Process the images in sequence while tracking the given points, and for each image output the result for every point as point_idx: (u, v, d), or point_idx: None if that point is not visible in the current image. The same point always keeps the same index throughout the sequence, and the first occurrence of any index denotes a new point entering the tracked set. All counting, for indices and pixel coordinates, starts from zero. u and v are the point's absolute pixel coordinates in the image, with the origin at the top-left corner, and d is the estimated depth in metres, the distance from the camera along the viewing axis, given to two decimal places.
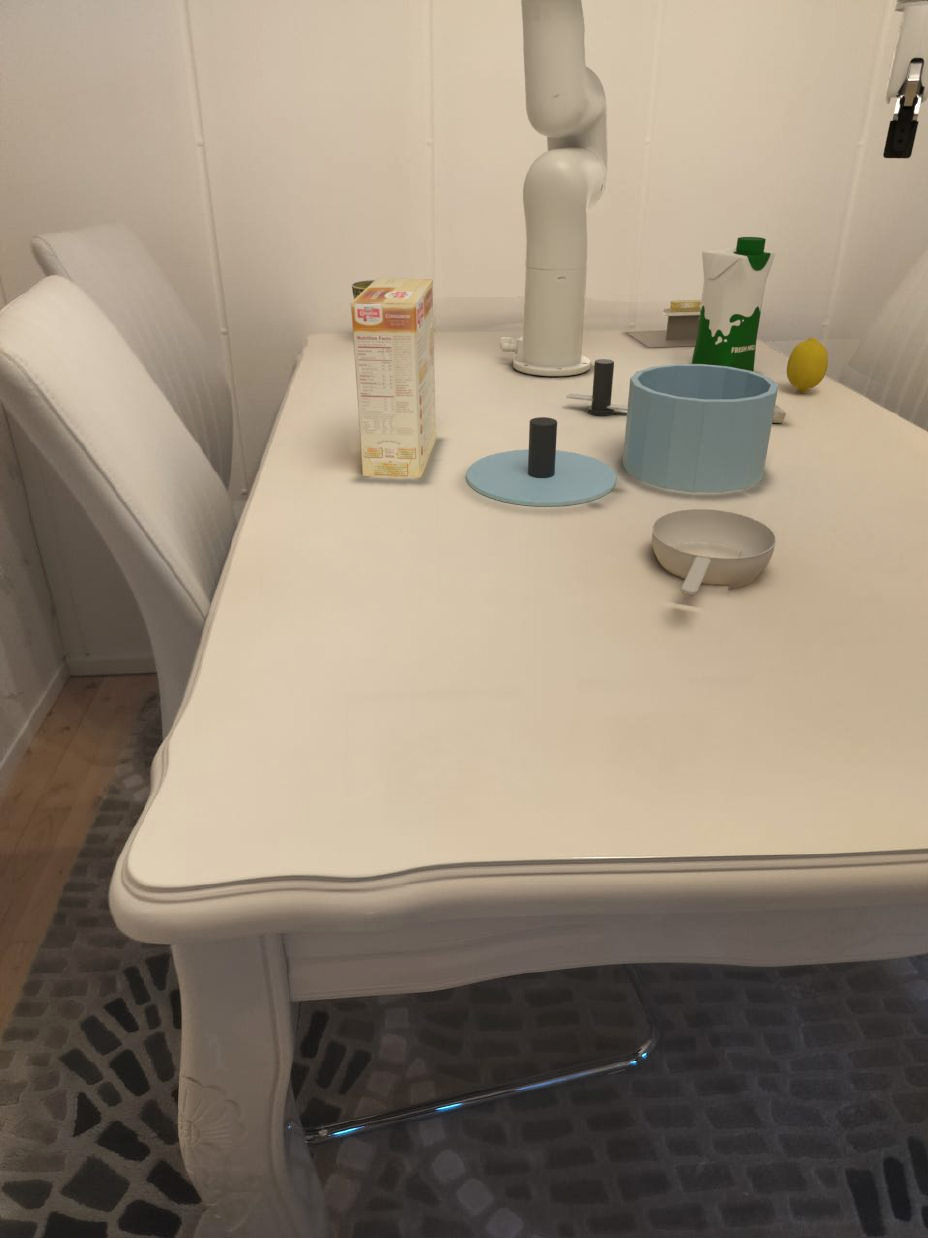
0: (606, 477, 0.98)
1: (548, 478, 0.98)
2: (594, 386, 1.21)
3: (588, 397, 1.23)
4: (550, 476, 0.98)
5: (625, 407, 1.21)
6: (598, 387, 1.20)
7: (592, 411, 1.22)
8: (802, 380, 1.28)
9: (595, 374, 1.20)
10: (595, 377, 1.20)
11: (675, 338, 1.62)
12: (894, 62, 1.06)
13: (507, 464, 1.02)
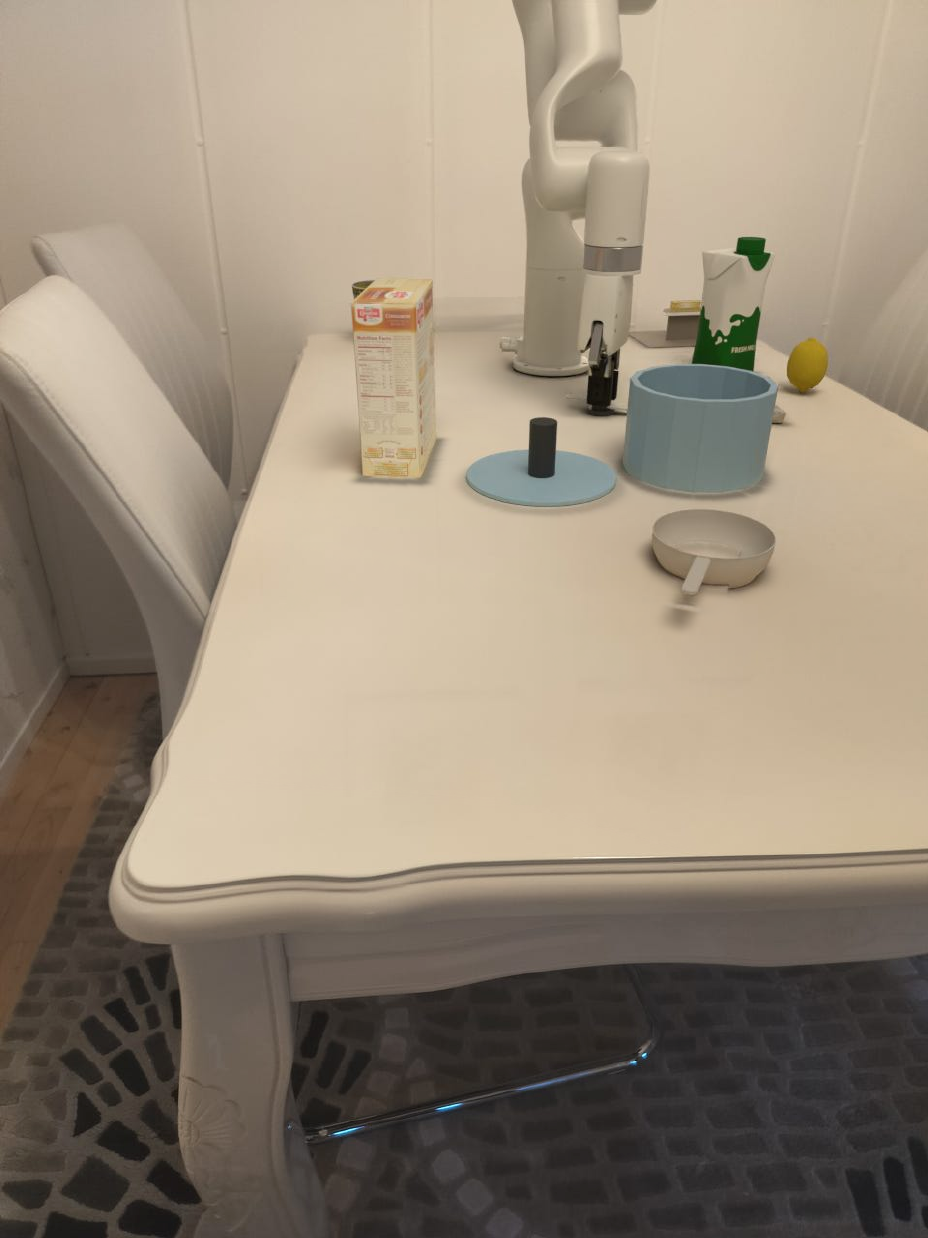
0: (606, 477, 0.98)
1: (548, 478, 0.98)
2: None
3: None
4: (550, 476, 0.98)
5: (625, 407, 1.21)
6: None
7: (592, 411, 1.22)
8: (802, 380, 1.28)
9: None
10: None
11: (675, 338, 1.62)
12: (579, 321, 1.14)
13: (507, 464, 1.02)
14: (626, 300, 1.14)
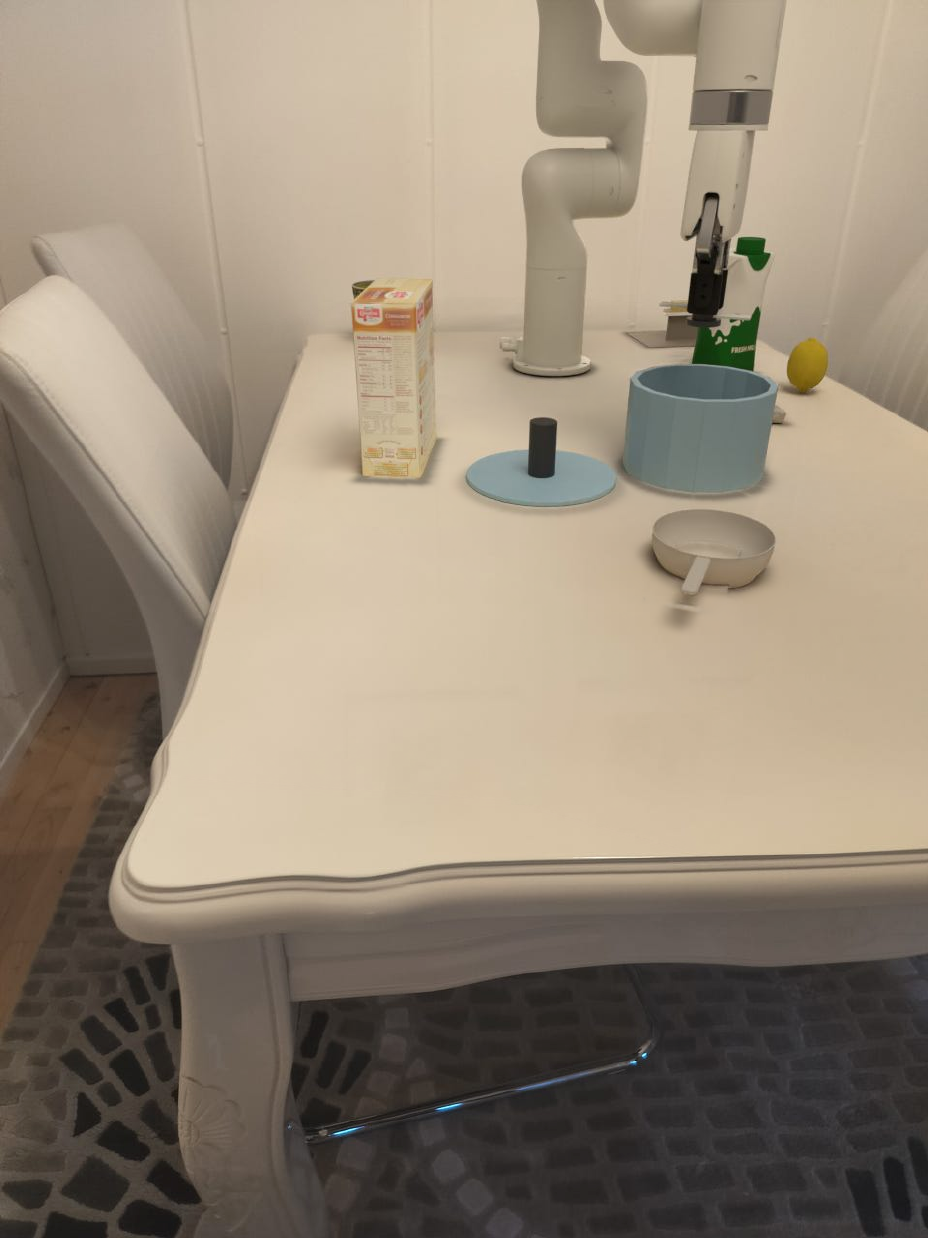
0: (606, 477, 0.98)
1: (548, 478, 0.98)
2: None
3: None
4: (550, 476, 0.98)
5: (737, 316, 0.94)
6: None
7: (694, 322, 0.94)
8: (802, 380, 1.28)
9: None
10: None
11: (675, 338, 1.62)
12: (686, 196, 0.87)
13: (507, 464, 1.02)
14: (747, 168, 0.87)
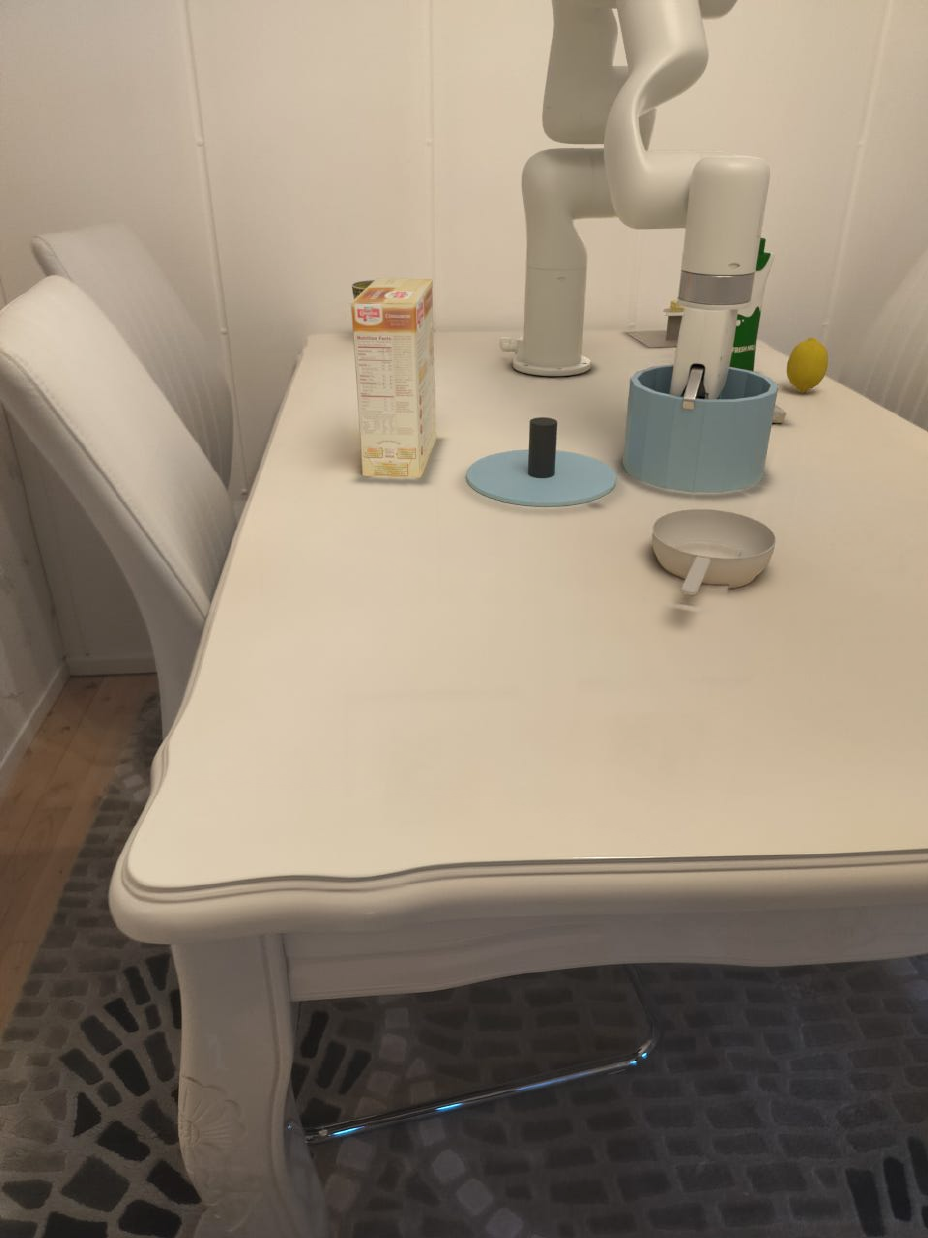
0: (606, 477, 0.98)
1: (548, 478, 0.98)
2: None
3: None
4: (550, 476, 0.98)
5: None
6: None
7: None
8: (802, 380, 1.28)
9: None
10: None
11: (675, 338, 1.62)
12: (674, 364, 0.93)
13: (507, 464, 1.02)
14: (731, 338, 0.93)
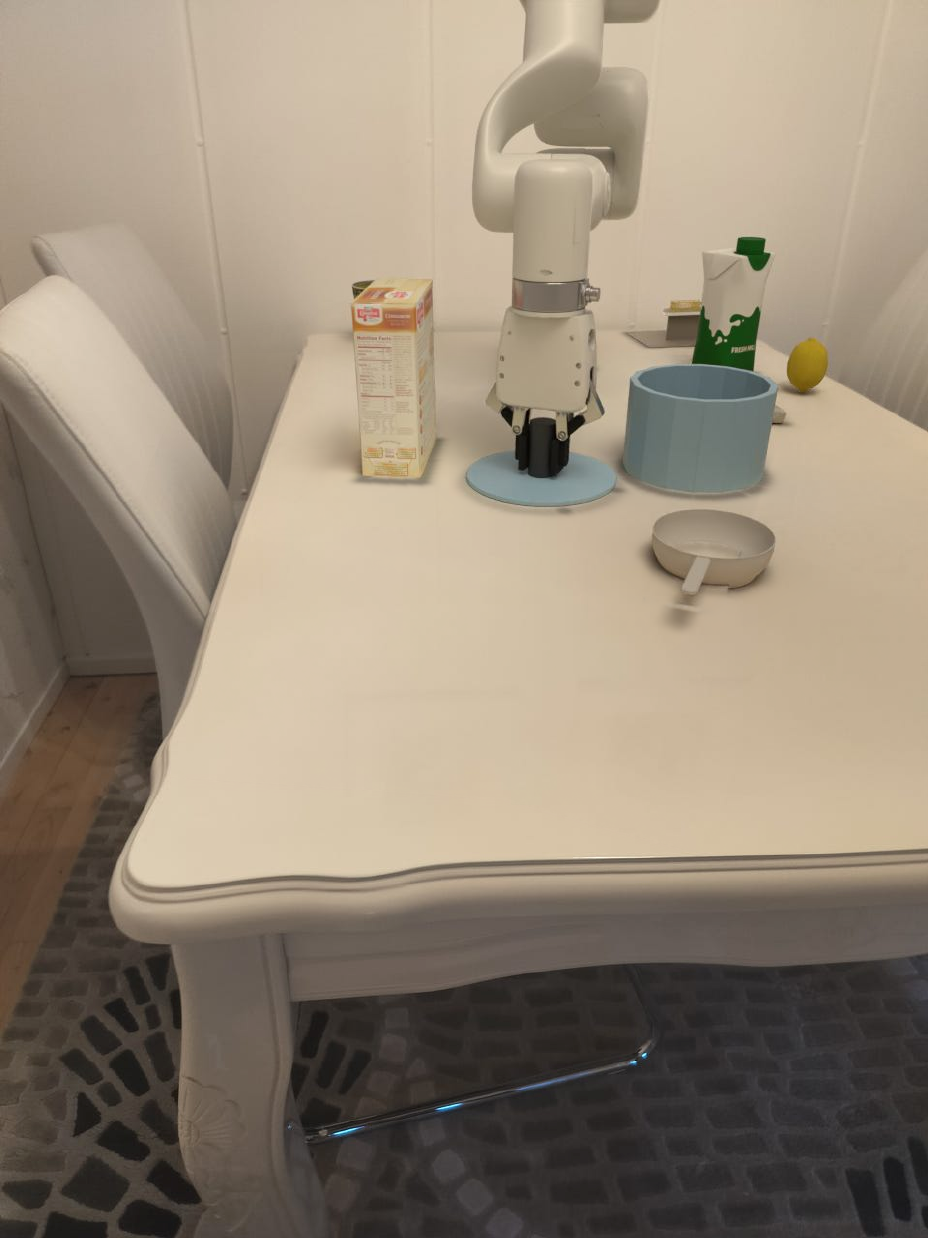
0: (606, 477, 0.98)
1: (548, 478, 0.98)
2: None
3: None
4: (550, 476, 0.98)
5: None
6: None
7: None
8: (802, 380, 1.28)
9: None
10: None
11: (675, 338, 1.62)
12: None
13: (507, 464, 1.02)
14: (531, 348, 0.90)
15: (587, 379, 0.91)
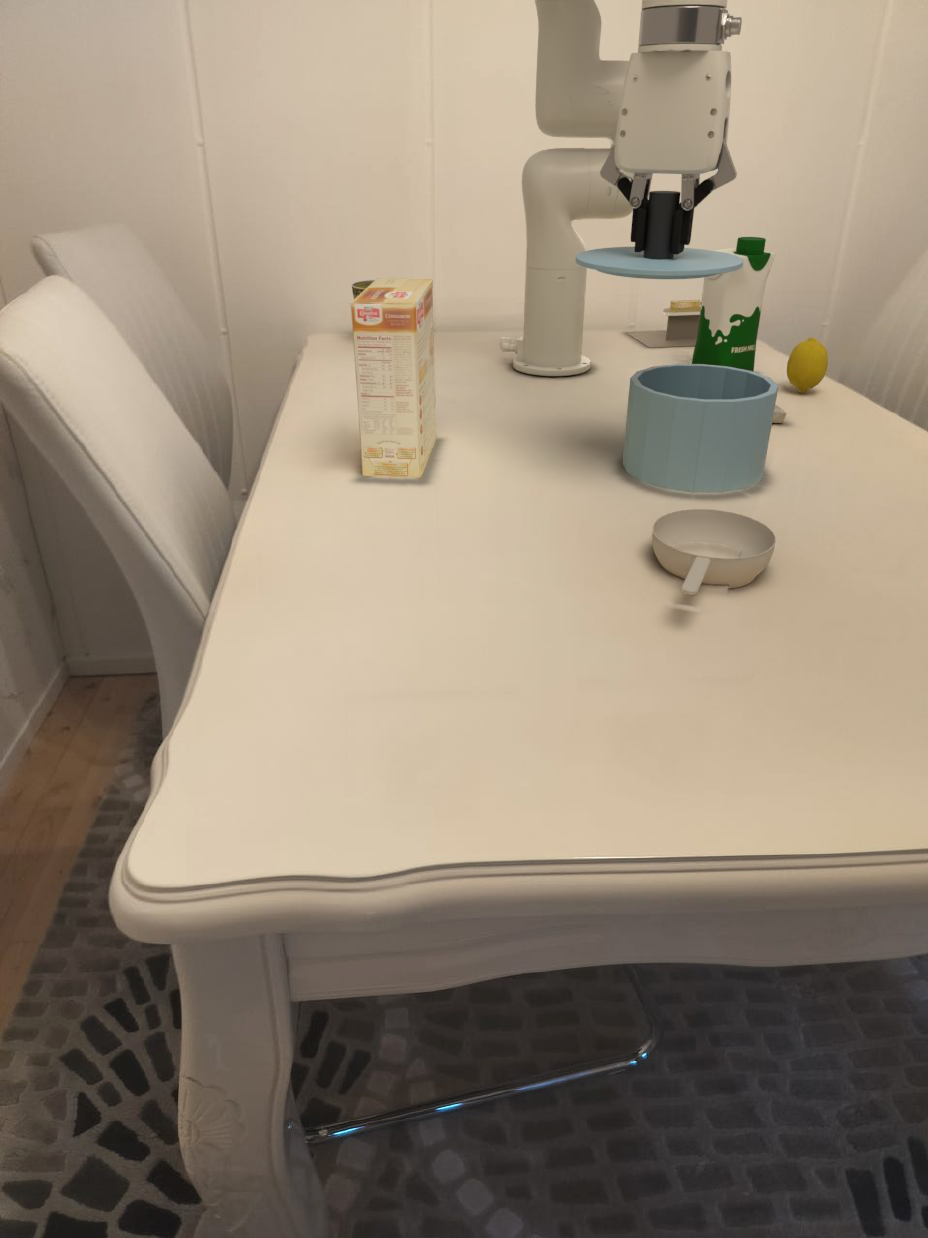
0: (731, 258, 0.89)
1: (668, 259, 0.88)
2: None
3: None
4: (669, 257, 0.89)
5: None
6: None
7: None
8: (802, 380, 1.28)
9: None
10: None
11: (675, 338, 1.62)
12: None
13: (618, 253, 0.93)
14: (660, 94, 0.81)
15: (721, 130, 0.81)
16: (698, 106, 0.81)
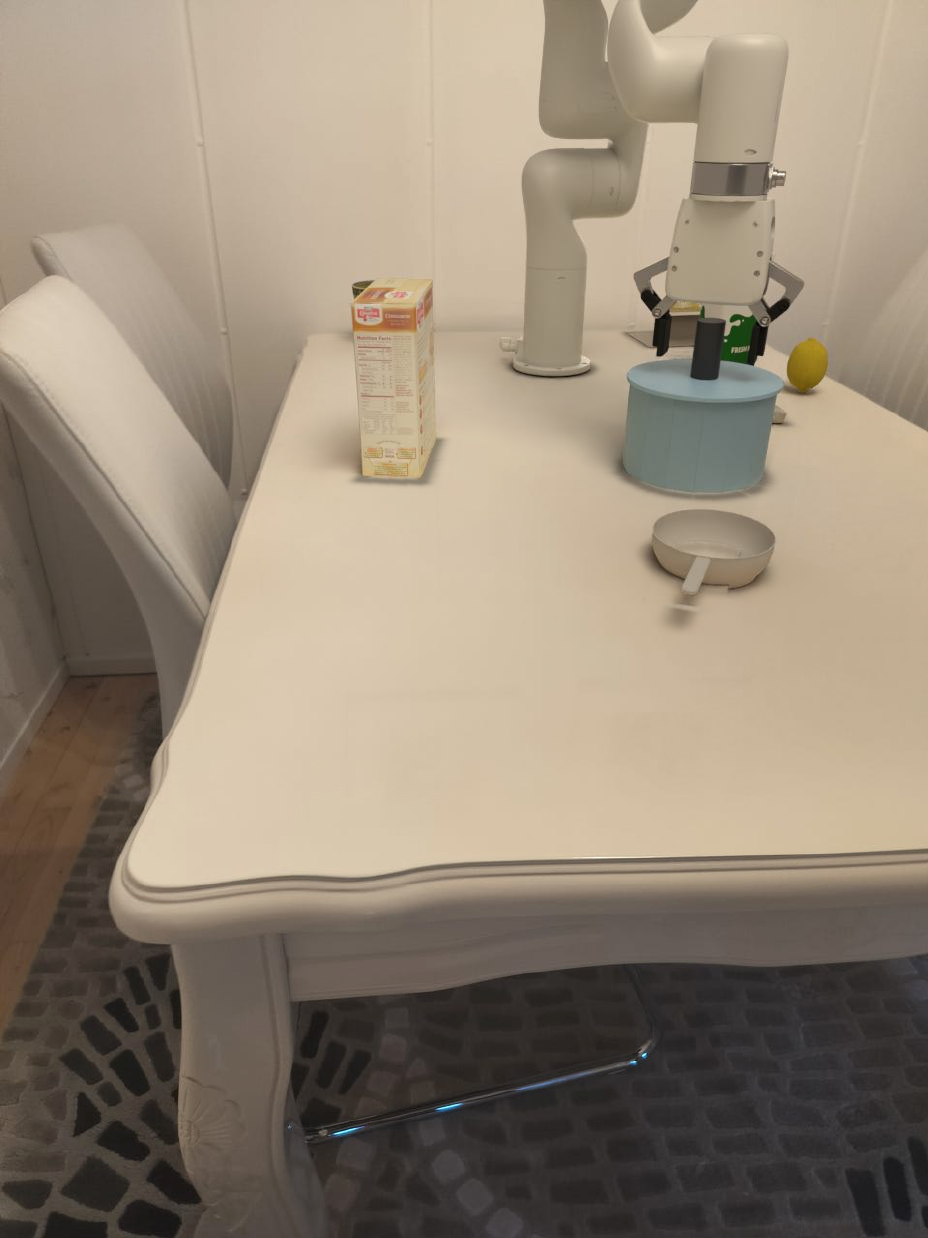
0: (772, 379, 0.96)
1: (714, 380, 0.96)
2: None
3: None
4: (715, 378, 0.96)
5: None
6: None
7: None
8: (802, 380, 1.28)
9: None
10: None
11: (675, 338, 1.62)
12: None
13: (665, 370, 1.00)
14: (710, 236, 0.88)
15: (766, 269, 0.89)
16: (746, 248, 0.88)
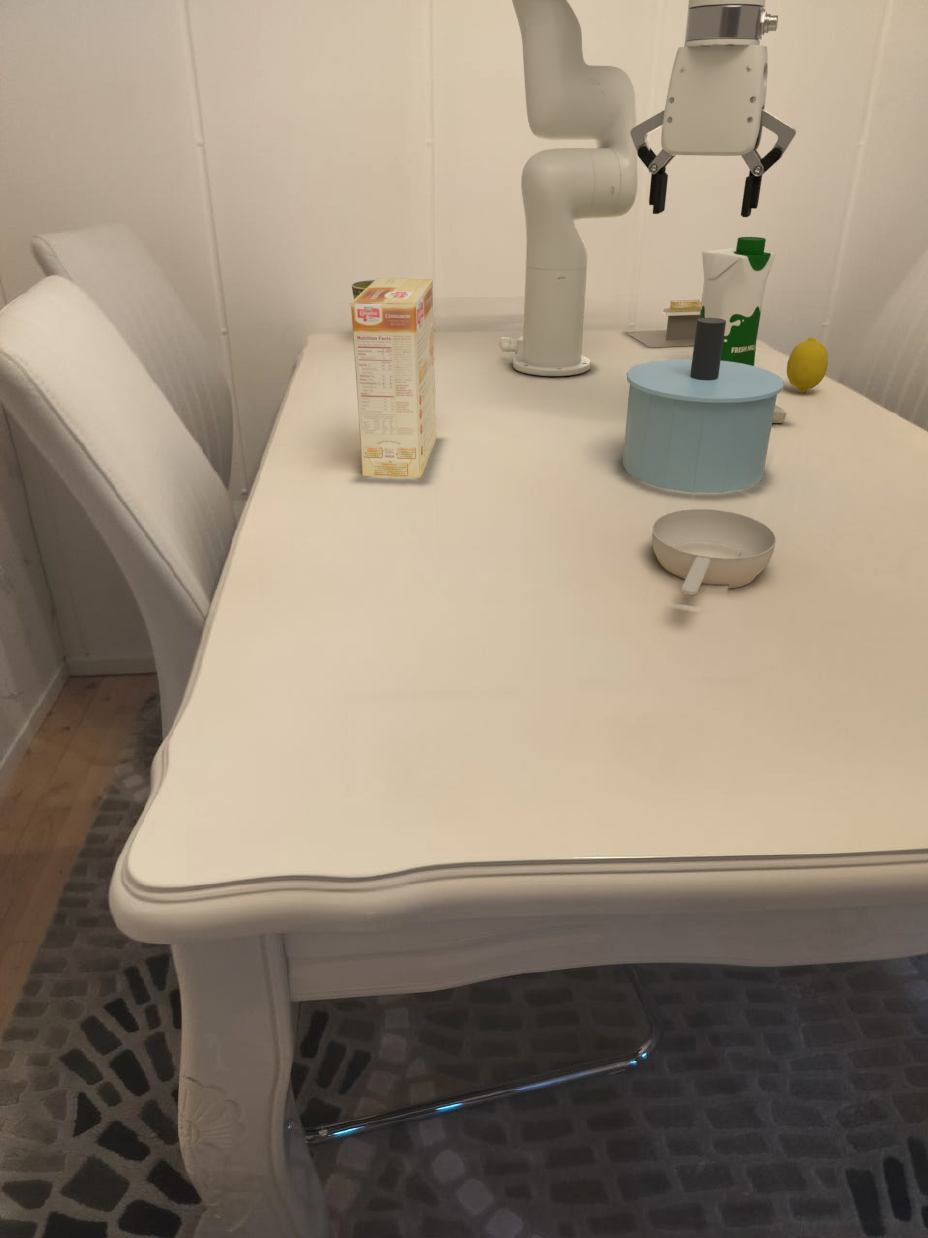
0: (772, 379, 0.96)
1: (714, 380, 0.96)
2: None
3: None
4: (715, 378, 0.96)
5: None
6: None
7: None
8: (802, 380, 1.28)
9: None
10: None
11: (675, 338, 1.62)
12: None
13: (665, 370, 1.00)
14: (704, 83, 0.91)
15: (759, 116, 0.91)
16: (739, 94, 0.90)
